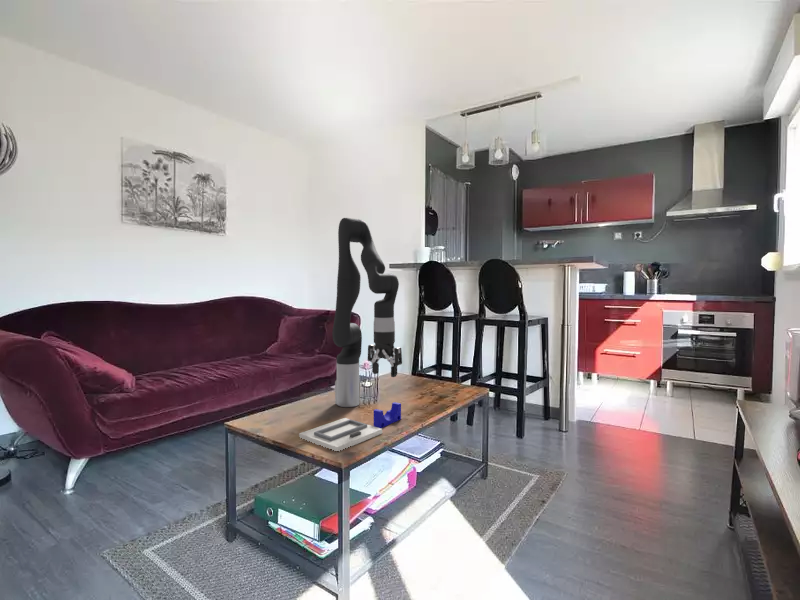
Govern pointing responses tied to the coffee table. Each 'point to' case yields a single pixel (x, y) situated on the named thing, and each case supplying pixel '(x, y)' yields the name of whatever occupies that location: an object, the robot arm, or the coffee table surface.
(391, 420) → the cable clip
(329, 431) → the board
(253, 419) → the coffee table surface
